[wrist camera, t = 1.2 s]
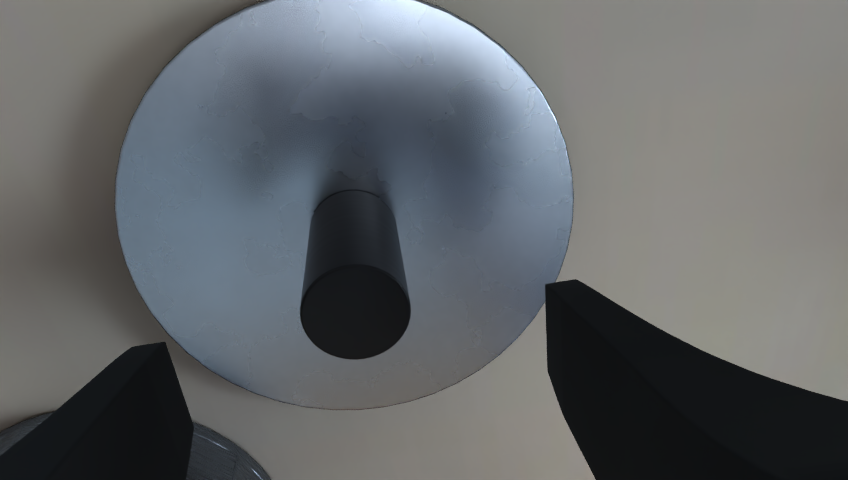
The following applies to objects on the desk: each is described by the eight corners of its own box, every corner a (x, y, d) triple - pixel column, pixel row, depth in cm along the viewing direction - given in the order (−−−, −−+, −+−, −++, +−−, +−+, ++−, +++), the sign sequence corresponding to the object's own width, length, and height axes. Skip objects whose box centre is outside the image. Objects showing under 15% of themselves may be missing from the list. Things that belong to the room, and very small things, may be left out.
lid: (566, 357, 22) (631, 480, 17) (193, 416, 22) (147, 563, 16) (558, -45, 17) (650, -36, 12) (59, 18, 16) (-71, 56, 11)
